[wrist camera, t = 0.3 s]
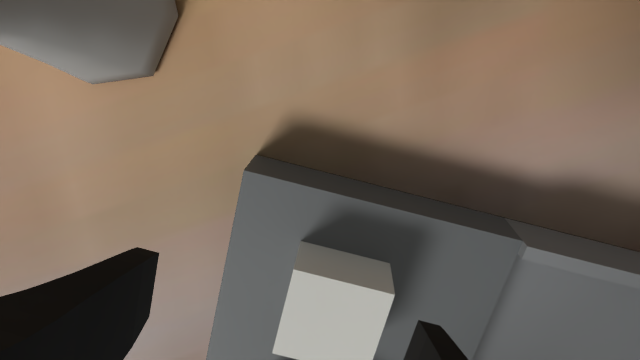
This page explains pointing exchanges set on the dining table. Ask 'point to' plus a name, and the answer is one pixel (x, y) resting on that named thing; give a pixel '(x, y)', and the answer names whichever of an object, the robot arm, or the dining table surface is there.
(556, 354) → the tray
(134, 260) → the robot arm
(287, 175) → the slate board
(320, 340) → the tile
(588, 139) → the dining table surface
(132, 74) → the flask
